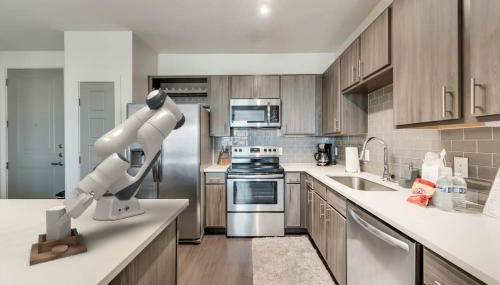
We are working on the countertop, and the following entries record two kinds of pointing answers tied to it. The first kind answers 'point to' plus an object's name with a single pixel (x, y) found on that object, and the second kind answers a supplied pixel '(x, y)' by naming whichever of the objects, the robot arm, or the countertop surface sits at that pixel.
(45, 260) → the organiser tray
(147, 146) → the robot arm
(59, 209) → the skincare box
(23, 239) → the countertop surface
